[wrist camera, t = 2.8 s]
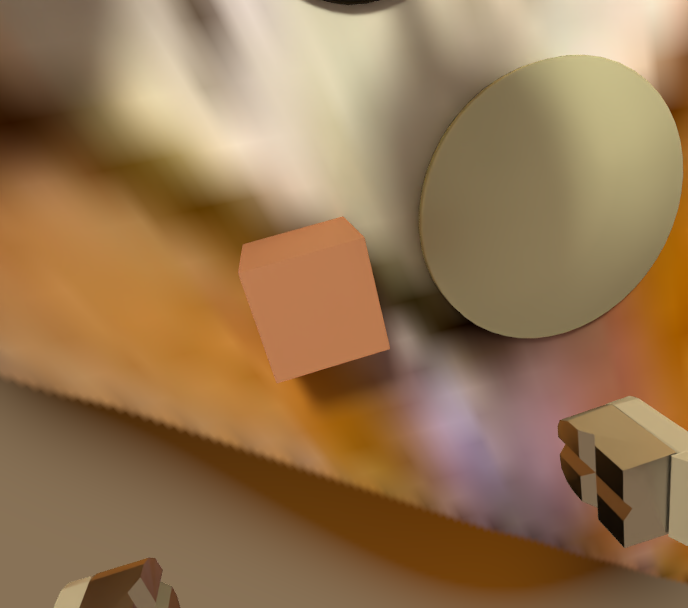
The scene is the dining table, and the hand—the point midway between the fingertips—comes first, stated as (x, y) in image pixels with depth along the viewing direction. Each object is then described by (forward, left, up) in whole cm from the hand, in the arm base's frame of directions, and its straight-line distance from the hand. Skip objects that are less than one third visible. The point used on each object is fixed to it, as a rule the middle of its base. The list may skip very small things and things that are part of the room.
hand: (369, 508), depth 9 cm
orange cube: (0, 0, -15) cm, 15 cm away
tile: (-13, 0, -15) cm, 20 cm away
